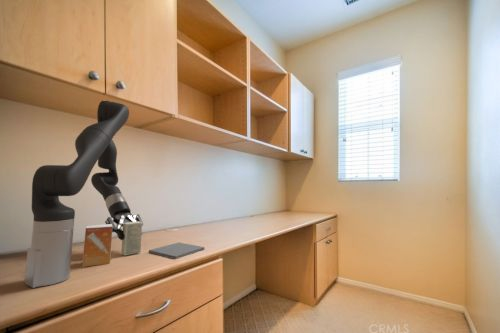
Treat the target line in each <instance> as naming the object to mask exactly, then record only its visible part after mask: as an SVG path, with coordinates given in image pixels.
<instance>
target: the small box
mask: <svg viewBox="0 0 500 333" xmlns="http://www.w3.org/2000/svg"><path fill="white" fill-rule="evenodd" d="M112 228H113V226H112V224H106V223H104V224H94V225H93V224H92V225H86V226H85V232H84V246H83V253H82V254H83V255H82V268H86V267H91V266H101V265H107V264H108V265H109V264H110V263H111V255H112V254H111V253H112V240H113V232H112Z"/></svg>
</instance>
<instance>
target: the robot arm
mask: <svg viewBox="0 0 500 333" xmlns="http://www.w3.org/2000/svg"><path fill="white" fill-rule="evenodd" d="M110 101H111V100H106V101H103V100H101V101H100V102H99V104H98V106H97V111H96V113H97V114H96V116H97V117H96V118H97V122H95V123H92V124H91V125H88V126H86V127H85V128H84V129H83V130H82V131H81V132H80V133H79V135H78V136H76V138H75V141H74V146H75V151H76V153H77V157H76V158H75V159H74V161H73V162H72V163H70V164H68V165H65V164H64V165H63V164H60V165H57V164H56V165H55V164H45V165H41V166H39V167H38V168H37V169H36V170H35V172H34V174H33V177H32V182H31V183H32V185H31V211H32V214H33V220H32V221H33V222H32V233H31V243H30V247H28V248H27V254H26V261H25V262H26V264H25V273H24V274H25V275H24V282H23V283H24V284H25V285H27V286H29V287H30V288H31V289H34V288H39V287H45V286H51V285H55V284H58V283H62V282H64V281H66V280H68V279H69V278H70V276H71V269H72V266H71V265H72V253H73V239H74V227H75V216H76V215H75V214H76V211H75V209H74V208H73V207H70V206H68V205H65V204H64V203H62V202H61V201H60V198H59V197H72V196H76V195H77V194H78V193H80V192H81V190H83V188H84V186H85V184H86V183H87V181H88V179H89V176H90V174H91V173H92V171H93V169H94V167H95V165H96V163H97V166H98V167H99V168H100V169H103V170H108V172H107V171H103V172H96V173H94V174H93V175H92V176H91V179H90V182H91V184H92V186H93V188H94V189H95V190H96V191H97V192H99V194H100V195H102V197H103V200H104V202H105V206H106V208H107V211H108V214H109V215H110V216H108V217H107V219H106V220H105V221H104V224H112V226H113V228H112V233H115V234H116V235H117V237H118V239H119V240H120V241H122V240H123V239H124V238H125V235H124V233H123V223H127V222H137V221H139V222H142V226H144V222H143V220H142V217H141V215H140V214H139V213H138V214H136V215H134V214H132V213H131V209H130V207H129V205H128V202H127V200H126V198H125V197H124V196H123V194H122V192H121V189H120V188H119V187H118V186H117V185H118V183H119V176H118V173H117V172H118V171H117V158H118V157H117V156H118V151H117V150H118V149H117V146H116V144H115V142H114V140H113V138H114V136H116V134H117V133H118V132H119V131H120V130H121V128H122V127H124V125H125V124H126V123H127V121H128V119H129V116H130V109H129V108H128V106H127V105H125V104H123V103H120V102H115V101H111V102H110ZM142 235H143V231H142V233H141V236H142Z"/></svg>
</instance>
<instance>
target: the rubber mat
mask: <svg viewBox="0 0 500 333" xmlns="http://www.w3.org/2000/svg"><path fill="white" fill-rule="evenodd" d="M204 250H205V246H199V245H195V244H188V243H184V242H176V243H175V242H174V243H170V244H166V245H164V246H159V247H156V248H152V249H149V250H148V253H149V254H152V255H153V254H154V255H158V256H162V257H165V258H170V259H174V260H176V259H180V258H183V257H187V256H189V255H192V254H195V253H198V252H202V251H204Z"/></svg>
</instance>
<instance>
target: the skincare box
mask: <svg viewBox="0 0 500 333" xmlns="http://www.w3.org/2000/svg"><path fill="white" fill-rule="evenodd" d="M142 222H143V221H142ZM142 222H139V221H137V222H127V223H123V227H122V231H123V233H124V235H125V238H124V239H123V240H121V254H122V255H123V256H129V255H135V254H139V253H141V250H142V249H141V248H142V235H141V233H142V232H143V229H142V228H143V225H142ZM142 234H143V233H142Z"/></svg>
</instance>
